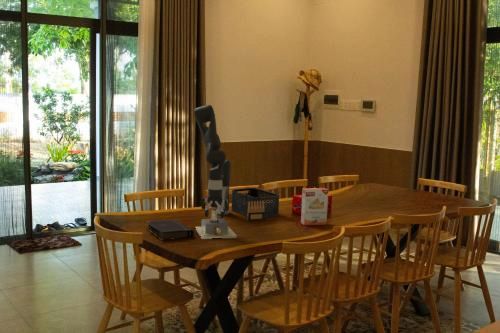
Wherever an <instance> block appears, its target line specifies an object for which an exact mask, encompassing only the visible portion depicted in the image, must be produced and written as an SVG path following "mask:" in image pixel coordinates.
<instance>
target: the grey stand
mask: <svg viewBox="0 0 500 333" xmlns="http://www.w3.org/2000/svg"><path fill="white" fill-rule="evenodd" d="M195 228H196V229H195V230H196V232H197V233H198V236H201V237H200V238H201V239H202V240H213V239H212V238H222V239H237V238H238V237H237V236H238V235H237V234H236V233H235V232H234V230H233V229H231V227H230V226H229V223H228V222H227V221H226V220H225V219H224V218H223V219H221V218H217V222H213V223H211V218H203V219H202V218H201V226H200V225H199V226H195Z"/></svg>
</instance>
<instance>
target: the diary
mask: <svg viewBox="0 0 500 333" xmlns="http://www.w3.org/2000/svg"><path fill="white" fill-rule="evenodd" d="M146 224H148V225H147V227H146V228H145V229H146V230H147V229H149V230H151V231H152V232H153V233H155V234H156V235H157V236H159V237H160V238H161V239H171V238H177V239H184V238H183V237H186V238H190V237H191V236H192V238H194V236H195V231H194V229H193V228H190V227H189V226H187V225H186V224H184V223H182V222H180V221H179V220H177V219H159V220H149V221H146ZM157 236H156V237H157ZM187 236H188V237H187Z"/></svg>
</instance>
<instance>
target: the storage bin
mask: <svg viewBox="0 0 500 333" xmlns="http://www.w3.org/2000/svg"><path fill="white" fill-rule="evenodd" d="M246 191H247V193H242V192H246ZM260 200H261V207H262V202H263V200H264V212H265V218H272V217H278V216H279V208H280V194H278V193H274V192H271V191H270V190H269V191H268V190H265V189H261V188H258V187H245V188H233V189H232V190H231V206H230V207H231V211H232V212H235V213H237V214H240V215H243V216H246V217H247V212H248V203H249V201H250V208H251V202H252V201H253V207H254V201H255V202H256V204H257V201H258V204H259V203H260Z"/></svg>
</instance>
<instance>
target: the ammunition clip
mask: <svg viewBox="0 0 500 333" xmlns="http://www.w3.org/2000/svg"><path fill="white" fill-rule="evenodd" d="M262 201H263V202H262V207H261V200H260V203H259V204H258V201H257V204H256V202H255V201H254V207H253V201H252V202H251V208H250V201H249V203H248V212H247V216H246V221H247V222H261V221H265V220H266V219H265V212H264V200H262Z"/></svg>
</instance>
